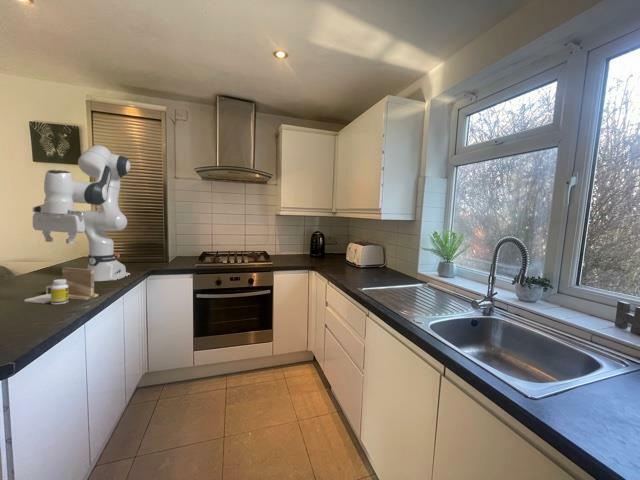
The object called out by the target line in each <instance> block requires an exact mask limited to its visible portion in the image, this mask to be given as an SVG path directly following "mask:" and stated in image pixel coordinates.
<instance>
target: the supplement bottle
mask: <svg viewBox="0 0 640 480" xmlns="http://www.w3.org/2000/svg"><path fill="white" fill-rule="evenodd" d="M52 284H54V285H53V286H52V287H51V302H50V304H51V305H63V304H66V303H69V298H68V289H69V287H68V285H67V284H66V279H62V278H61V279H54V280H53V282H52Z"/></svg>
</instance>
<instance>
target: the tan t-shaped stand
mask: <svg viewBox="0 0 640 480" xmlns="http://www.w3.org/2000/svg"><path fill="white" fill-rule="evenodd" d="M61 270H62V272H61V274H62V276H61V279H66V284H67V285H68V287H69V289H68V299H75V300H81V301H83V300H84V301H86V300H90V299H94V298H96V297H99V293H95V281H94V270H92V269H87V268H79V267H67V266H64V267H62V268H61Z"/></svg>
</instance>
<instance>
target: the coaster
mask: <svg viewBox="0 0 640 480" xmlns="http://www.w3.org/2000/svg"><path fill="white" fill-rule="evenodd" d="M24 302H25V303H34V304H35V303H36V304H47V303H51V294H42V295H38V296H33V297H29V298H26V299H24Z"/></svg>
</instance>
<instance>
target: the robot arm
mask: <svg viewBox="0 0 640 480" xmlns="http://www.w3.org/2000/svg"><path fill="white" fill-rule="evenodd" d="M77 164H78V168H79V169H80V170H81V171H82V173H84V174H85V175H86V176H88V177H92V178H96V181H90V182H88V181H79V180H74V179H73V175H72V174H73V173H72V172H70V171H68V170H57V169H49V170H47V171H46V172H45V177H44V181H43V191H44V194H45V198H44V199H43V203H42V204H39V205H36V206H33V207H32V212H33V215H32V228H33V229H34V230H35V231H41V232H42V233H41V234H42V235H43V237H44V240H45V242H47V243H52V242H54V237H52V236H51V232H53V233H54V232H57V233H58V232H59V233H67V236H68V238H67V239H65V243H66V244H69V245H70V244H71V245H72V244H74V239H75V238H76V237H77V234H85V236H86V238H87V242H88V255H87V261H88V265H87V268H86V269H92V270H94V282H104V281H107V282H108V281H118V280H120V279H123V278H125V276H126V277H128V275H129V276H131V275H130V274H131V273H130V272H127V270H126V266H125V264H123V263H121V262H120V261H118V260H117V258H120V256H121V255H120V254H119V253H118V254H117V253H115V251H114V250H115V248H114V246H115V242H114V240H113V239H112V238H110V237H109V236H108V235H107V234H106V232H107V231H108V232H118V231H119V232H120V231H123V230H125V228H126V227H127V225H128V219H127V217H126V215H125V214H124V213H123V212H122V211H121V209H120V207H119V197H120V190H121V178H123V177H124V176H126V175H128V174H129V173H130V170H131V168H132V167H131V162H130V159H129V158H128V157H126V156H123V155H118V154H115V153H111V151H110V150H109V148H107V147H105V146H103V145H100V144H96V145H92V146H90V147H89V148H87V149H86V150H85V151H84V152H82V153H81V155H80V156H79V158H78V160H77ZM75 204H88V205H95V206H100V210H91V209H90V210H82V211H79V210H74V209H75V207H74V205H75ZM114 253H115V254H114ZM117 279H118V280H117Z"/></svg>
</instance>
